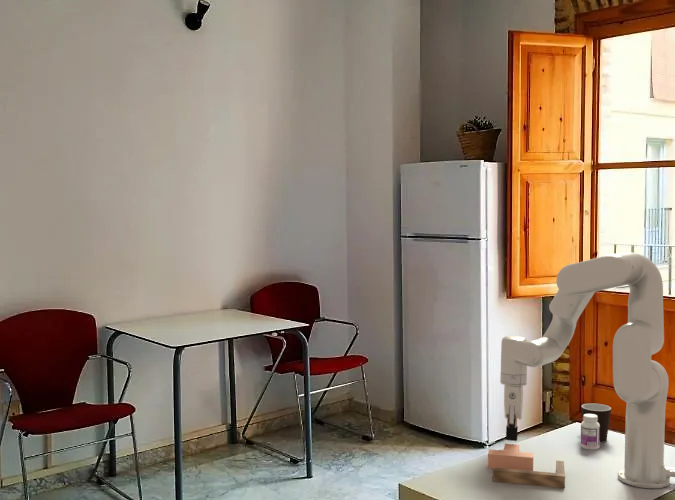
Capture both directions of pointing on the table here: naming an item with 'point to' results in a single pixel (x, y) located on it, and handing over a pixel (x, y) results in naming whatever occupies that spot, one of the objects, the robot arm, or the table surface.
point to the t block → (510, 458)
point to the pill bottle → (590, 432)
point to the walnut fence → (532, 476)
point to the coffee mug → (599, 417)
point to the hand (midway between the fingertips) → (511, 439)
